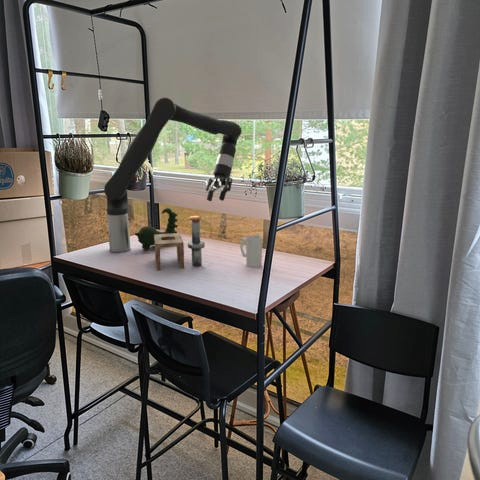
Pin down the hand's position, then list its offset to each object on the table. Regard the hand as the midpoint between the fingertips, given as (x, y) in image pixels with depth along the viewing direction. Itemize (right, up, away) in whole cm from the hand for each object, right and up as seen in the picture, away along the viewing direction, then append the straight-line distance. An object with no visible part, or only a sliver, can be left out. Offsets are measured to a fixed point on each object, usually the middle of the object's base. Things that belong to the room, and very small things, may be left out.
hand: (215, 200), depth 189 cm
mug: (+15, -28, -10) cm, 33 cm away
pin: (-7, -28, -11) cm, 31 cm away
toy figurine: (-29, -21, +17) cm, 39 cm away
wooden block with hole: (-19, -27, -9) cm, 34 cm away
